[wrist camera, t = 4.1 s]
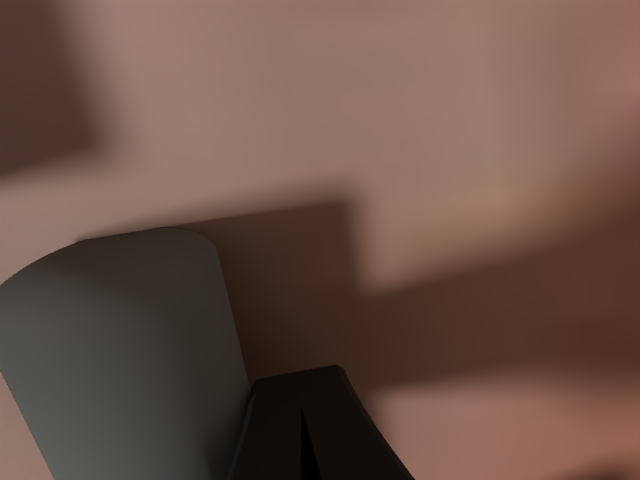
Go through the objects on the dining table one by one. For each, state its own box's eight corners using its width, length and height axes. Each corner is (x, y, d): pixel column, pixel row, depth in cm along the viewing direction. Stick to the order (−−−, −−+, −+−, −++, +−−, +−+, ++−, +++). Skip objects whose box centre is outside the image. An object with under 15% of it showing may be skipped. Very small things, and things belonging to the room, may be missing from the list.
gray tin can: (282, 478, 12) (293, 635, 9) (135, 506, 11) (102, 673, 9) (222, 213, 9) (213, 325, 6) (27, 245, 9) (-69, 374, 6)
